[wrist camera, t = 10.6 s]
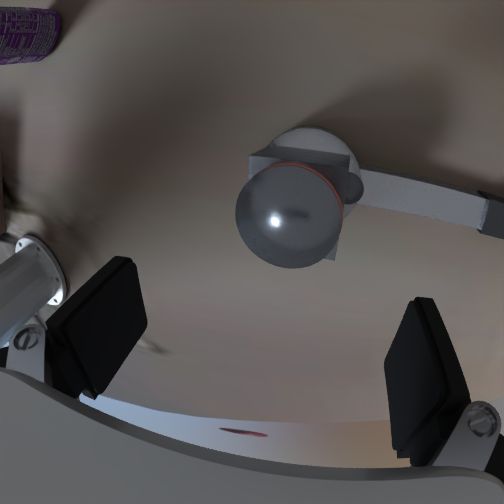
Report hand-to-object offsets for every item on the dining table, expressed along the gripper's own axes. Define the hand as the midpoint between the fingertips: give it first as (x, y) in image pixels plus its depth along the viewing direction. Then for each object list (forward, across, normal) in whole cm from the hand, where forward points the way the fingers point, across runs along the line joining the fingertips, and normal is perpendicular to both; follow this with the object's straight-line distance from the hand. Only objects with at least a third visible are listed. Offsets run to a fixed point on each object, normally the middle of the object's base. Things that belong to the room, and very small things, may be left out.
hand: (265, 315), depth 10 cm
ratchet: (+17, -12, -1) cm, 21 cm away
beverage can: (+18, +30, -18) cm, 40 cm away
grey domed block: (+14, -1, 0) cm, 14 cm away
